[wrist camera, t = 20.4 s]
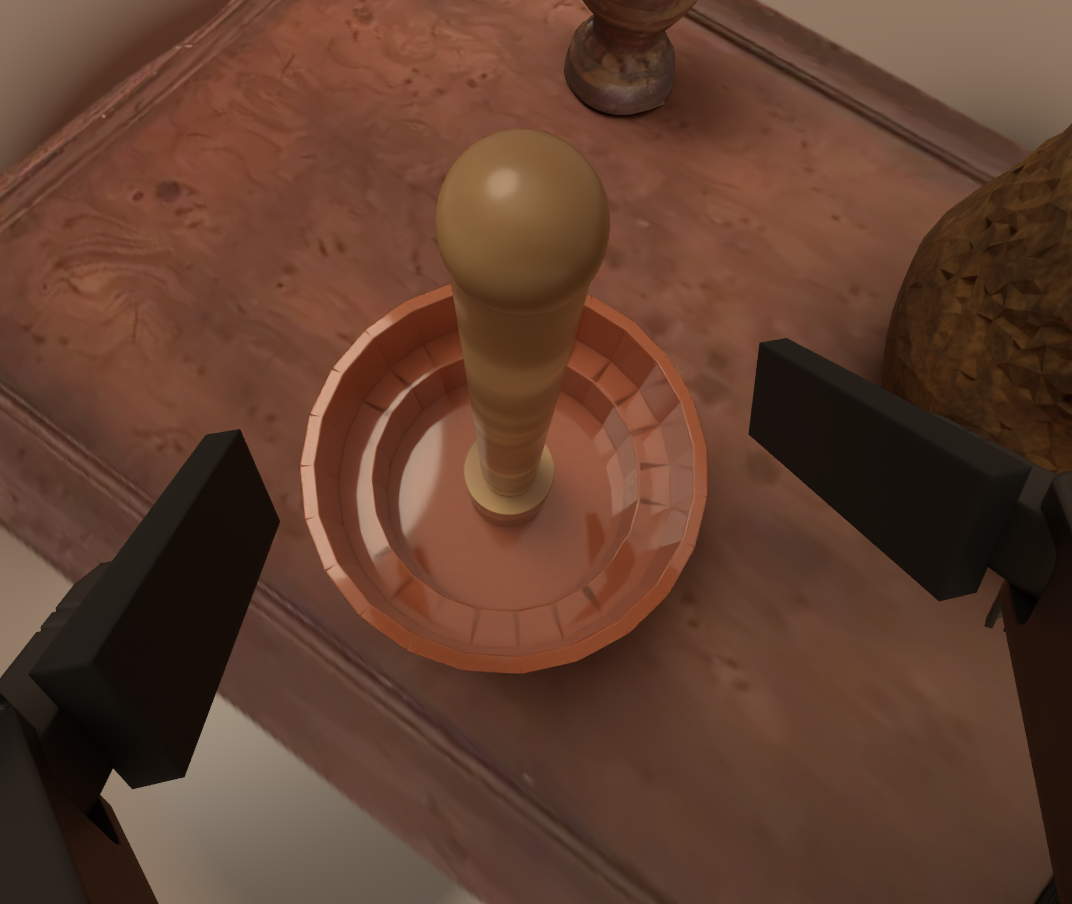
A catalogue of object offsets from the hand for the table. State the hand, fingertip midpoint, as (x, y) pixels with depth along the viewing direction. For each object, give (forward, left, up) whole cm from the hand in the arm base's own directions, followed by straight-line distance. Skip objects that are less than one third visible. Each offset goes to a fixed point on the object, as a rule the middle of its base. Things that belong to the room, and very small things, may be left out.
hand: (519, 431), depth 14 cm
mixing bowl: (+1, +1, -15) cm, 15 cm away
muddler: (+1, +1, -14) cm, 14 cm away
